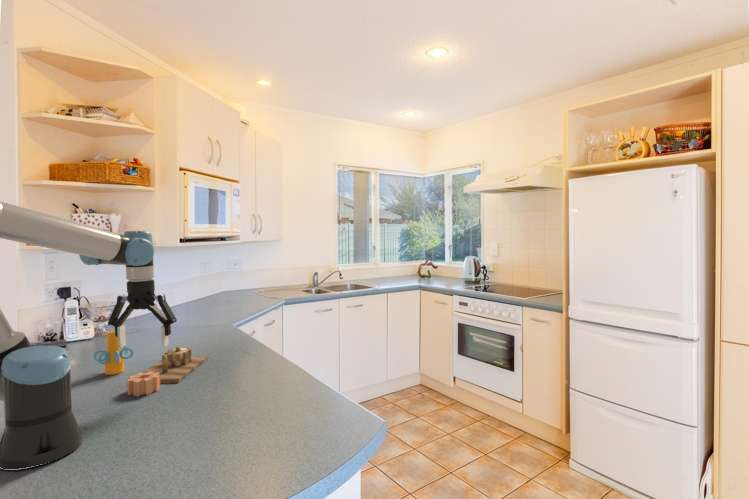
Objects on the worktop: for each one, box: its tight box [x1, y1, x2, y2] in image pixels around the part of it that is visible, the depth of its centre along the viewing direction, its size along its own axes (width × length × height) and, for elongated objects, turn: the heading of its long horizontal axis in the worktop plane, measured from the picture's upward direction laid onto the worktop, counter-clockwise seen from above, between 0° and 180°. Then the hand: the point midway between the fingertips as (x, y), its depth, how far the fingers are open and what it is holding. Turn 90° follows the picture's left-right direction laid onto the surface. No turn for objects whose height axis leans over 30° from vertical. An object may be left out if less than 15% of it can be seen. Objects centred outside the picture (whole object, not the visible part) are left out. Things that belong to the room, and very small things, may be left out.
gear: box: [126, 372, 161, 397], centre depth 126 cm, size 9×9×4 cm
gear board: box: [141, 345, 208, 384], centre depth 144 cm, size 24×16×7 cm, turn 1°
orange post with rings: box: [93, 329, 134, 376], centre depth 142 cm, size 12×10×15 cm
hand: (143, 346), depth 126 cm, fingers open, 13 cm apart
